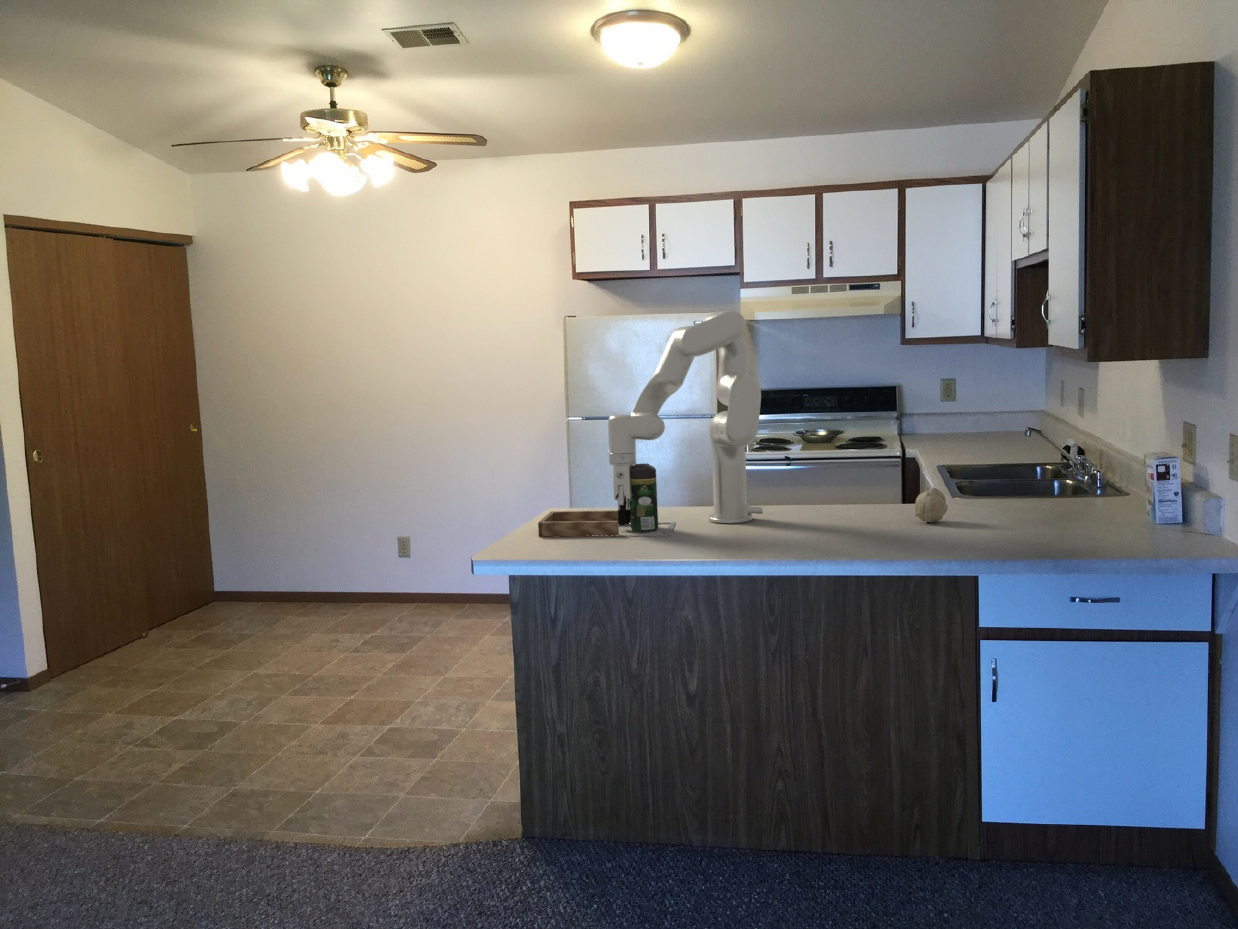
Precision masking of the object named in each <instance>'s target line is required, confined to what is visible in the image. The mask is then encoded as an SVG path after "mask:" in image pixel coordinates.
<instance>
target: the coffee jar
mask: <svg viewBox="0 0 1238 929" xmlns="http://www.w3.org/2000/svg"><path fill="white" fill-rule="evenodd" d="M630 473H631V476H630V477H631V486H632V500H629V509H630V523H631V524H630V529H631V530H632V531H633V532H637V533H638V532H639V533H649V532H653V531H654V532H655V531H657V530H658V529H659V524H658V522H659V511H658V486H657V469H656V468H655V467H654V466H653V465H651V464H649V463H636V464H634V465H633V468H632V469H631V471H630Z"/></svg>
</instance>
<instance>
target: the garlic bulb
mask: <svg viewBox="0 0 1238 929" xmlns="http://www.w3.org/2000/svg"><path fill="white" fill-rule="evenodd" d="M948 508H949V506H948V504H947V498H946V496H945V494H944V493H943V492H942V491H941V490H939V489H938V488H937V487H931V488H930V489H929V490H927V491H923V492H922V493H920V494H918V496H917V497H916V499H915V507H914V510H915V513H914V516H915V517H916V518H919V519H920V521H922V522H924V521H926V522H930V523H932V522H938V521H941V520H942V519H943V517H944V515H945V514H946V513H947V511H948Z"/></svg>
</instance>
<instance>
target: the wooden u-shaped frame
mask: <svg viewBox="0 0 1238 929" xmlns="http://www.w3.org/2000/svg"><path fill="white" fill-rule="evenodd" d="M618 524H619V523H618V510H568V511H567V510H561V511H560V510H558V511H557V510H555V511H553V510H551V511H550V512H548V513H547V514H546V515H545V516H544V517H543V518H542V519H541V520H539V521H538V522H537V528H538V537H539V536H575V537H596V536H595V535H598V536H597V537H606V536H605V535H608V536H607V537H615V536H614V535H620V532H619V531H620V530H619V528H620V527H619V526H620V525H618ZM587 535H588V536H587ZM592 535H594V536H592ZM601 535H603V536H601ZM611 535H613V536H611Z"/></svg>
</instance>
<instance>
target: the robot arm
mask: <svg viewBox="0 0 1238 929" xmlns="http://www.w3.org/2000/svg"><path fill="white" fill-rule="evenodd" d="M746 324H747V323H746V320H745V318H744V316H743V315H742V314H741V313H740V312H738V311H735V310H722V311H721V310H718V311H713V312H711V313H709V314H707V316H706V317H705V319H703V321H702V322H700V323H697V324H694V325H687V326H685V325H684V326H680V327H678V328H677V329H675V330H674V331H673V332H672V334H671V335H670V337H669V339H668V342H667V344H666V345H665V349H664V350H663V353H662V356H661V358H660V359H659V362H658V364H657V367H656V369H655V371H654V373H653V374H652V376H651V378H650V379H649V380H648V381H647V383H646V385H645V387H644V388H643V389H642V391H641V392H640V394H639V395H638V398H637V400H636V401H635V404H634V407H633V408H632V411H631V413H630V414H626V413H625V414H621V413H620V414H612V415H610V416H609V417H608V420H607V426H608V427H607V430H608V434H607V436H608V464H609V466H612V467H613V468H612V469H613V471H612V474H613V475H612V479H613V498H614V500H615V501H617V509H618V510H617V511H618V523H619V524H626V525H630V524H629V523H630V505H629V500H632V486H631V477H630V476H631V473H630V471H631V469H632V468H633V466H634V465H635V464H637V452H636V451H637V448H636V445H637V444H636V440H641V441H643V440H644V441H654V440H657V439H659V438H661V436H663V434H664V433H665V430H666V429H665V428H666V427H665V426H666V425H665V422H664V419H663V418H662V417H661V416H659V412H660V410H662V407H663V405H664V404H665V402H666V401H667V400H668V399H669V398H670V397H671V396H672V395H674V394H676V393H677V391H679V390H680V389H681V387H682V386H683V384H684V382H685V380H686V378H687V375H688V373H689V370H690V369H691V366H692V364H693V361H694V359H695V357H697V358H698V357H701V356H704V355H707V354H709V353H711V352H714V351H716V350H718V359H719V360H718V374H717V381H716V382H717V383H716V384H717V385H716V397H717V400H718V401H719V402H720V403H721V404H722V405H724V406H726V407H727V410H723V411H720V412H718V413H717V414H715V415H714V416H713V417H712V419H711V420H710V424H709V426H708V427H709V428H708V431H709V439H710V446H711V453H712V454H711V455H712V488H713V513H711V514H710V515H708V521H709V522H712V523H717V524H741V523H746V522H747V523H748V522H751V521H752V520H753V515H752V514H756V515H760V514H761V515H762V514H763V506H752V505H751V506H750V505H749V503H748V502H747V467H746V466H747V459H746V451H745V447H748V446H749V445H751V444H752V443H753V442H754V440H755V438H756V437H757V434H758V430H759V425H760V424H759V423H760V415H761V414H760V413H761V401H762V391H761V386H760V384H759V382H758V380H757V379H756V378H755V377H754V376H752V375H750V374H749V373H750V372H749V370H750V350H749V349H750V348H749V345H748V342H747V340H746V338H745V336H744V333H745V331H746V326H747V325H746Z"/></svg>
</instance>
